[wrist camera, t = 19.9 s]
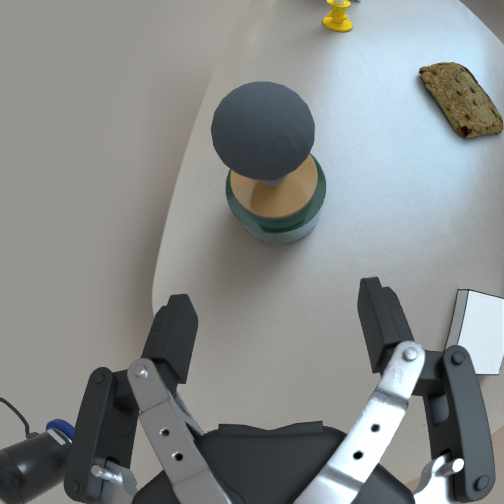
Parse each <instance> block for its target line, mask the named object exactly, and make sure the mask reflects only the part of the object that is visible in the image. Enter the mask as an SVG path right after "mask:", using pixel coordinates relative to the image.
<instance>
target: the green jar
mask: <svg viewBox="0 0 504 504" xmlns="http://www.w3.org/2000/svg"><path fill="white" fill-rule="evenodd" d="M325 193H326V180H325V175H324V172H323V170H322V168H321V166H320V164H319V163H318V161H317V160H316V159H315V157H314V156H313V155H312V154H310V153H309V155H308V157H307V159H306V160H305V161H304V162H303V163H302V164H301V165H300V166H299V167H298V168H297V169H296V170H294V171H293V172H291V173H289V174H287V177H286V179H285V180H284V181H283V182H282V183H280V184H278V185H274V186H269V185H266V184H263V183H262V182H261V181H260V180H254V179H250V178H247V177H244V176H241V175H239V174H237V173H235V172H234V171H233V170H232V169H230V171H229V173H228V176H227V180H226V196H227V201H228V204H229V206H230V208H231V210H232V211H233V213H234V214H235V216H236V217H237V218H238V220H239V221H240V222H241V223H242V224H243V226H244V227H245V228H246V229H247V231H248V232H249V233H250V234H251V235H252V236H254V237H255V238H257V239H258V240H260V241H262V242H265V243H268V244H272V245H286V244H291V243H294V242H296V241H298V240H300V239H302V238H303V237H305V236H306V235H307V234H308V233H310V231H311V230H312V229H313V228H314V226H315V225H316V223H317V220H318V218H319V215H320V211H321V208H322V205H323V202H324V198H325Z"/></svg>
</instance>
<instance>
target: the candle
mask: <svg viewBox="0 0 504 504" xmlns="http://www.w3.org/2000/svg"><path fill="white" fill-rule="evenodd" d="M327 2H328V3H329V4H331V5H332V6H333V7H332V11H330V12H329V16H327V17H325V18H324V19H323V24H324V26H325V27H327V28H329V29H331V30H334V31H339V32H345V31H349V30H351V29H352V23H351V22H350V21H349V20H348V19H347V18H348V16H347V14H346V13H345V7H349V6H351V3H350V2H349V1H347V0H327Z"/></svg>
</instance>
